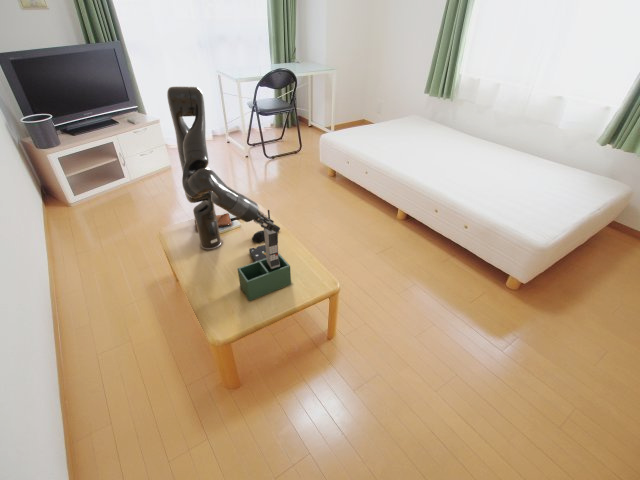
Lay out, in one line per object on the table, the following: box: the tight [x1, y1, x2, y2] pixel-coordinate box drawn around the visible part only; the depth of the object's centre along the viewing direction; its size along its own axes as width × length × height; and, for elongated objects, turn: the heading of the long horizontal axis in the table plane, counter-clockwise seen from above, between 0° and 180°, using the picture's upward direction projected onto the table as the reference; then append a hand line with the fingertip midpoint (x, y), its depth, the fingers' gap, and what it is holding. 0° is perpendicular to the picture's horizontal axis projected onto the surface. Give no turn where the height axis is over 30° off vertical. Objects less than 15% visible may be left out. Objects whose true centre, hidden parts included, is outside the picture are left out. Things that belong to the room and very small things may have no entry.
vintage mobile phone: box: [263, 209, 280, 269], centre depth 128 cm, size 4×5×25 cm
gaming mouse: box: [251, 229, 280, 244], centre depth 166 cm, size 6×15×4 cm, turn 129°
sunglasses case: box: [194, 212, 233, 233], centre depth 175 cm, size 18×7×7 cm, turn 114°
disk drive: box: [248, 244, 267, 263], centre depth 152 cm, size 10×3×15 cm
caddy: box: [237, 253, 292, 302], centre depth 136 cm, size 10×18×10 cm, turn 123°
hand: (275, 226), depth 126 cm, fingers closed on vintage mobile phone, 4 cm apart
